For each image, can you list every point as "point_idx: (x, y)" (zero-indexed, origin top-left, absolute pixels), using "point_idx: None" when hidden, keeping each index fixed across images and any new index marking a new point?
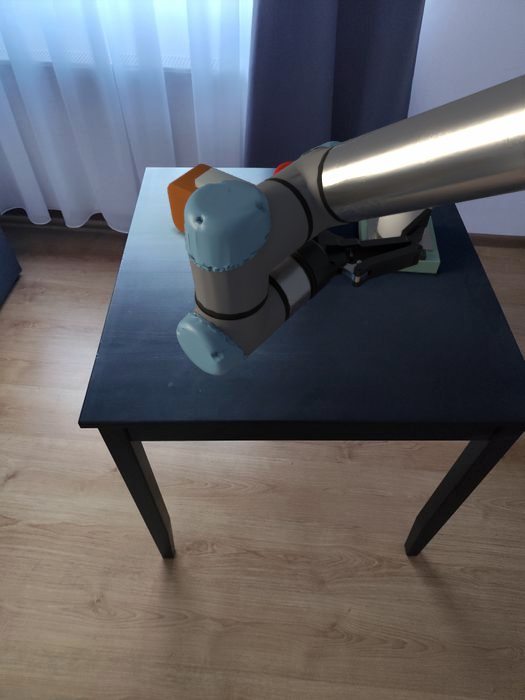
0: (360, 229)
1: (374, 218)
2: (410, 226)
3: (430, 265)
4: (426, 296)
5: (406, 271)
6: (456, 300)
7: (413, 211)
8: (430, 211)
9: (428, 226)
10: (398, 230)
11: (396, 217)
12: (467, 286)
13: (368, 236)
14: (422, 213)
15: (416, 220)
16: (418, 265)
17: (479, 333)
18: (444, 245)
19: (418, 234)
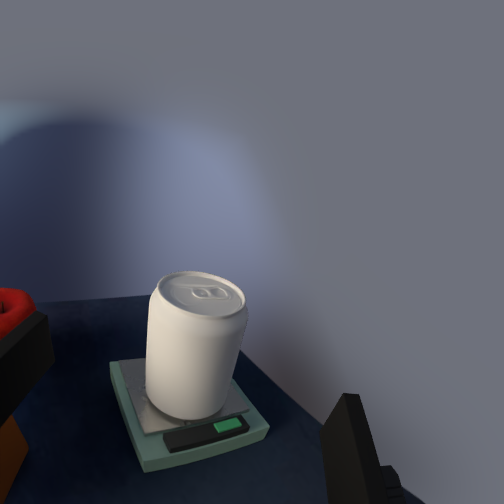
0: (117, 394)
1: (135, 372)
2: (378, 496)
3: (256, 434)
4: (276, 487)
5: (221, 453)
6: (316, 471)
7: (217, 367)
8: (360, 402)
9: None
10: (193, 401)
11: (185, 382)
12: (312, 441)
13: (136, 412)
14: (355, 421)
15: (367, 458)
16: (239, 441)
17: None
18: (245, 387)
19: (399, 498)
